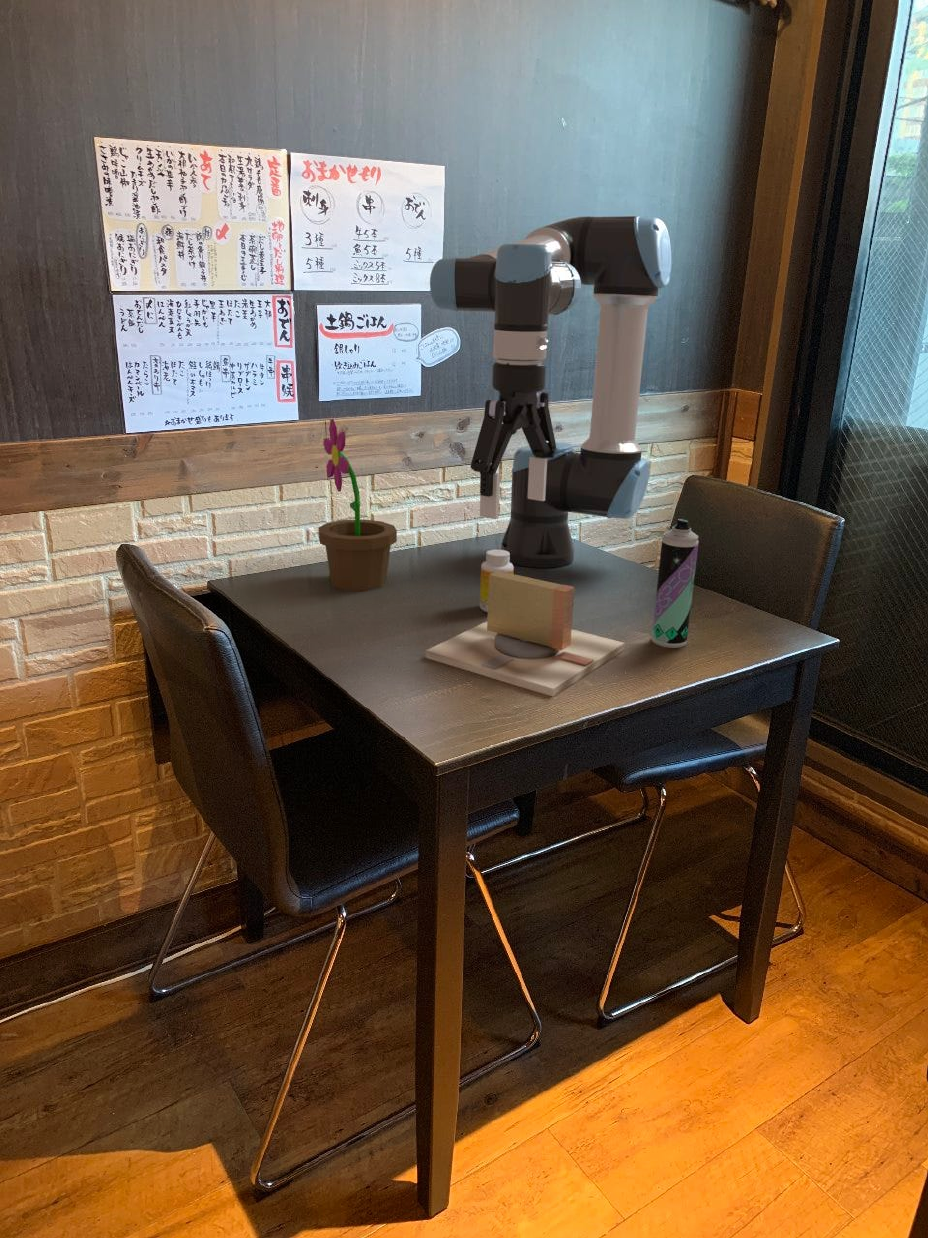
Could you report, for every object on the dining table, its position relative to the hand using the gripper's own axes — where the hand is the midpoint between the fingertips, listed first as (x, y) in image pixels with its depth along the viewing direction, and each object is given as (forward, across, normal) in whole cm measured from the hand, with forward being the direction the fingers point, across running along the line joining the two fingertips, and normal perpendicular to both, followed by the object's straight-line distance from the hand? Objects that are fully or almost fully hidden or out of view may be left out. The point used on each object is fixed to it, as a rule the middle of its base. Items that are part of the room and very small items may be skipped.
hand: (513, 508), depth 139 cm
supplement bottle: (+22, +12, +10) cm, 27 cm away
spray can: (+22, +16, -20) cm, 34 cm away
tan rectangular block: (+19, -3, -5) cm, 20 cm away
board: (+21, -3, -5) cm, 22 cm away
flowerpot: (+22, +8, +38) cm, 45 cm away
